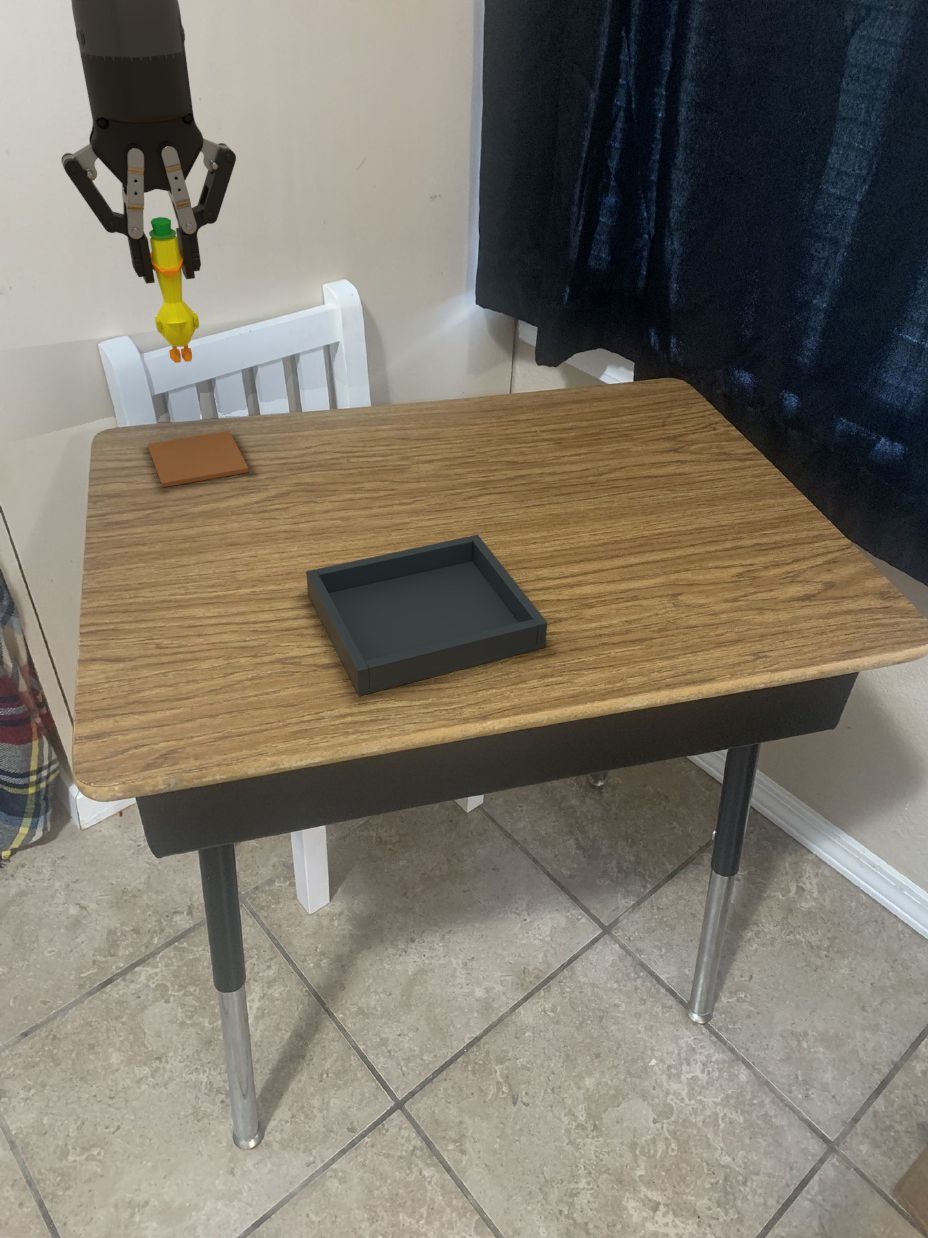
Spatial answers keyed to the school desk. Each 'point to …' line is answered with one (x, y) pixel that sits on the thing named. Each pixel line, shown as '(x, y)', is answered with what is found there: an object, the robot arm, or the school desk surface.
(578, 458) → the school desk surface
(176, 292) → the toy figure
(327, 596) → the tray
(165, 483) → the coaster
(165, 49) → the robot arm
